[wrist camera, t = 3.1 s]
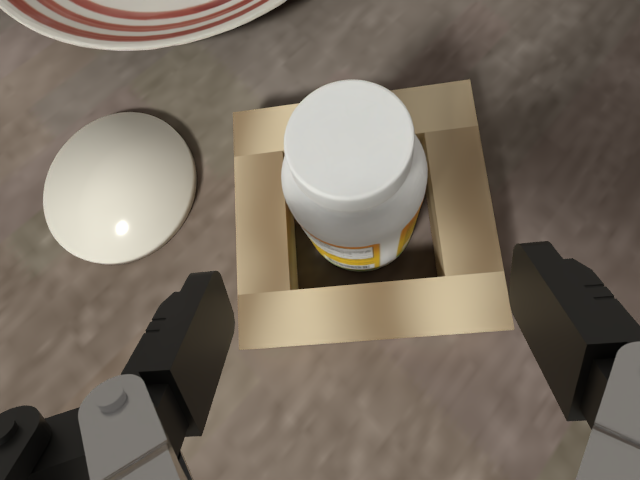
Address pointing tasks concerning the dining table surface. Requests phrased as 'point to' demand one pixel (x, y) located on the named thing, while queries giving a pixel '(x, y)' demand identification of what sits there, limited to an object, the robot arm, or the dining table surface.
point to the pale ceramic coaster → (119, 188)
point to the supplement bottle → (354, 173)
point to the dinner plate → (134, 20)
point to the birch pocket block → (382, 297)
